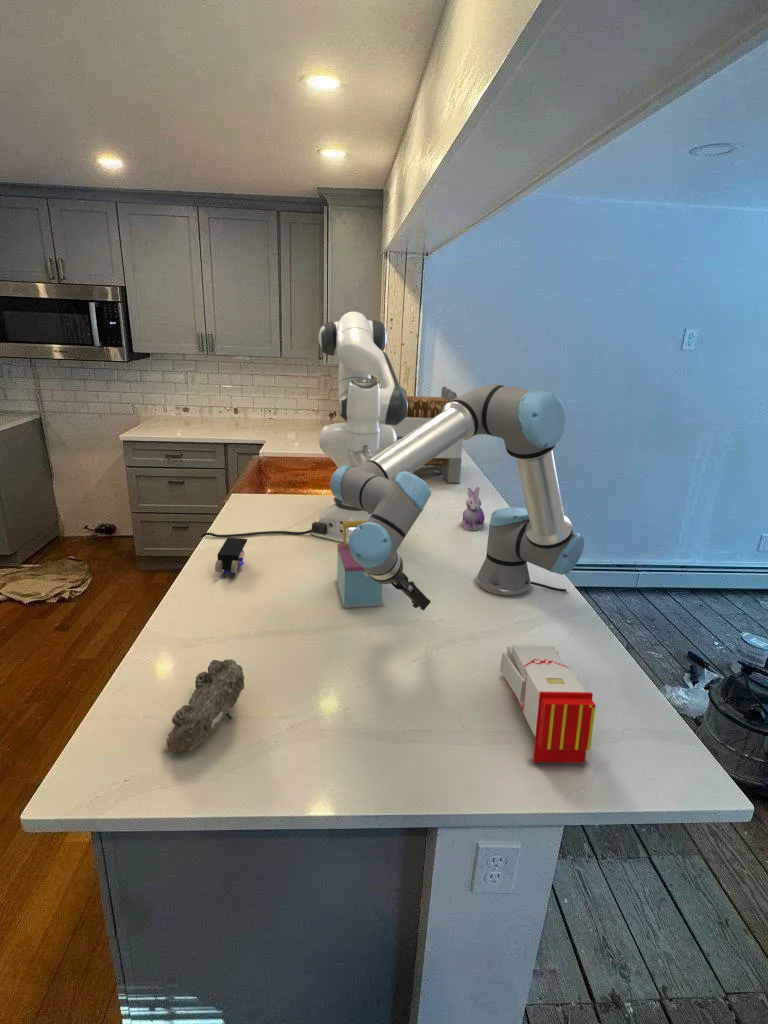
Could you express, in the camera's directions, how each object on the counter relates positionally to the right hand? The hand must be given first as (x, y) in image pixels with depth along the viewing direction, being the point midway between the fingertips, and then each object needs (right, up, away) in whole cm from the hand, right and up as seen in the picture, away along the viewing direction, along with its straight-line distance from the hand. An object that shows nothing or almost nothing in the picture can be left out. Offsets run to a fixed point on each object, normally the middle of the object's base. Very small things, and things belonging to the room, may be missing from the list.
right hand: (397, 584), depth 133 cm
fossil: (-36, -22, -25) cm, 49 cm away
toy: (+27, -23, -20) cm, 41 cm away
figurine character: (-48, 0, +34) cm, 59 cm away
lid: (-10, +4, +21) cm, 23 cm away
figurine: (+30, +12, +77) cm, 83 cm away
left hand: (-9, +22, +21) cm, 32 cm away
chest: (-10, -6, +24) cm, 27 cm away
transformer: (+14, +36, +142) cm, 147 cm away
